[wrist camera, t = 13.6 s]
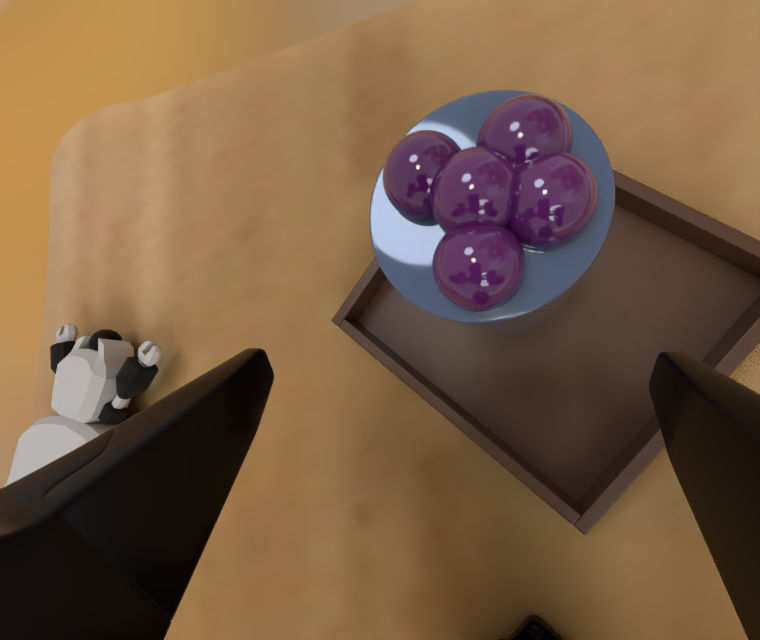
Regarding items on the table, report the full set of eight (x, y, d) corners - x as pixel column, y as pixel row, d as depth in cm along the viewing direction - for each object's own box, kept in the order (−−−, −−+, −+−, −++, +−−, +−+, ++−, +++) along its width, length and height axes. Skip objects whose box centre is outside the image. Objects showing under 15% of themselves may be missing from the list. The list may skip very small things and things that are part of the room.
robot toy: (94, 324, 34) (50, 497, 33) (34, 316, 30) (-19, 514, 28) (198, 345, 30) (153, 546, 28) (145, 338, 25) (88, 575, 24)
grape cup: (598, 284, 19) (719, 168, 7) (491, 363, 21) (445, 375, 9) (511, 194, 21) (492, -15, 9) (419, 272, 23) (299, 181, 11)
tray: (788, 281, 17) (824, 271, 15) (578, 516, 19) (585, 536, 17) (484, 127, 22) (480, 104, 20) (347, 323, 24) (330, 320, 22)
